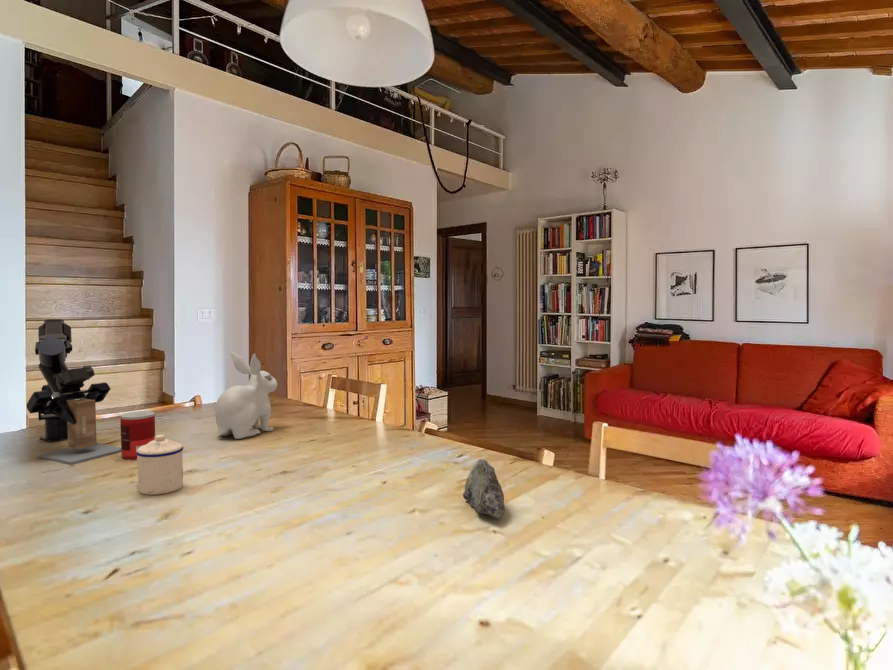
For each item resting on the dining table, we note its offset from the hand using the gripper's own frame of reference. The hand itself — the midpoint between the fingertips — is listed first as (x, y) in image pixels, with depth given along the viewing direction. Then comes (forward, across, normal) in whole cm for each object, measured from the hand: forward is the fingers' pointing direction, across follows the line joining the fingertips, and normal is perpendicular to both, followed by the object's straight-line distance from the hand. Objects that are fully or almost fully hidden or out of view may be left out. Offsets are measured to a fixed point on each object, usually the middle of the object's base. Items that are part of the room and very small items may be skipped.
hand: (84, 421), depth 147 cm
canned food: (+15, +6, -3) cm, 17 cm away
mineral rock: (+82, +13, -70) cm, 108 cm away
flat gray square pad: (+5, 0, +7) cm, 9 cm away
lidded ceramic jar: (+34, -8, -21) cm, 40 cm away
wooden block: (+4, 0, +6) cm, 7 cm away
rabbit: (+20, +37, -8) cm, 43 cm away
